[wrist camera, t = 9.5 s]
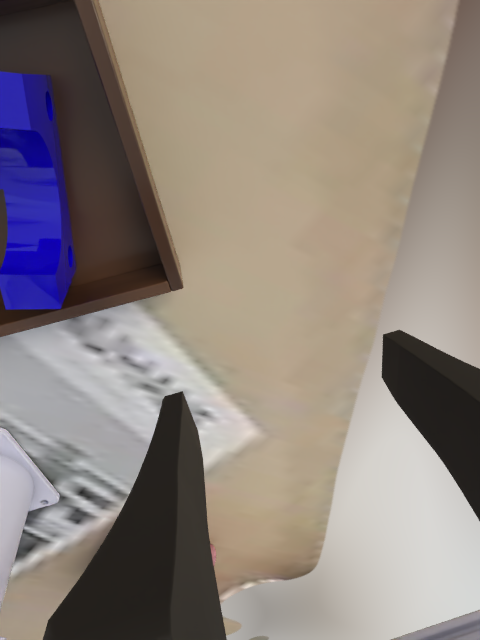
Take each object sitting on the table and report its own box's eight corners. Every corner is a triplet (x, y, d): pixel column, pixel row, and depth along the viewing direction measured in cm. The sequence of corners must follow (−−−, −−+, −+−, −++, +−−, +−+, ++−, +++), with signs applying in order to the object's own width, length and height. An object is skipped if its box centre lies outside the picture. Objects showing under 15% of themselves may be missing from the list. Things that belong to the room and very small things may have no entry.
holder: (-13, 316, 20) (-34, 346, 17) (-203, 37, 13) (-276, 30, 11) (180, 265, 20) (183, 288, 18) (91, -24, 14) (79, -44, 11)
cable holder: (-55, 63, 14) (-119, 58, 10) (50, 75, 14) (21, 73, 11) (-4, 267, 18) (-38, 310, 15) (76, 268, 19) (60, 308, 15)
